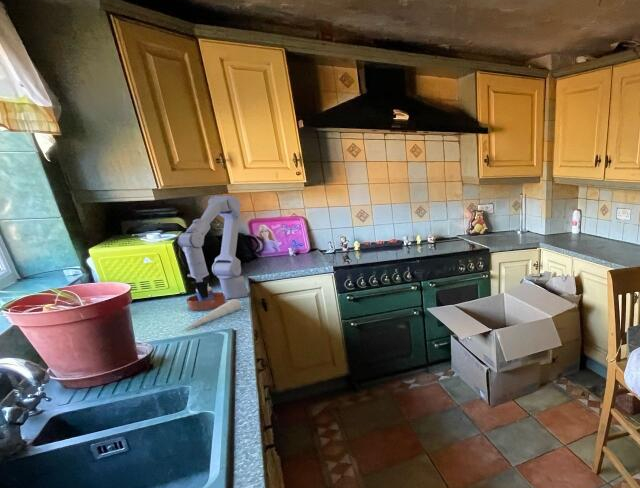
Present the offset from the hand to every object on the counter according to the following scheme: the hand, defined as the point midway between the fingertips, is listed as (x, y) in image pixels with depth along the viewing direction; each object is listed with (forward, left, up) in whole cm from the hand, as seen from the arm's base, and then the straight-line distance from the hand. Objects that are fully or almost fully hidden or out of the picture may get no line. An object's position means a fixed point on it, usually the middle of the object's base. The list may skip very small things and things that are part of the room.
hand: (205, 295), depth 174 cm
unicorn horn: (-3, +19, -5) cm, 20 cm away
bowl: (0, 0, -5) cm, 5 cm away
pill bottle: (0, 0, -5) cm, 5 cm away
